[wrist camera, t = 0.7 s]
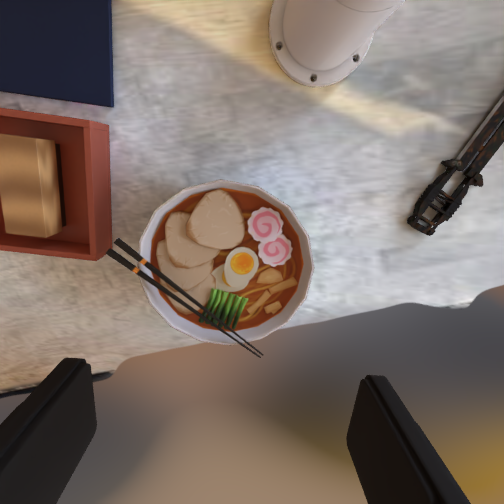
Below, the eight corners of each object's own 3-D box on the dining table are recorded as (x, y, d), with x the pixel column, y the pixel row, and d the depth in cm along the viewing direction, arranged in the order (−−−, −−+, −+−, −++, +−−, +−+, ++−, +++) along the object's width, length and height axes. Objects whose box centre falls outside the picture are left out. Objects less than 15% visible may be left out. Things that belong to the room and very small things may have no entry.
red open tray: (-22, 106, 36) (-61, 99, 31) (109, 125, 37) (89, 120, 32) (-2, 237, 41) (-32, 246, 37) (112, 250, 42) (96, 261, 38)
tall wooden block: (23, 135, 37) (-10, 132, 32) (62, 141, 37) (35, 138, 32) (34, 224, 40) (5, 233, 36) (69, 228, 41) (46, 237, 36)
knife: (534, 51, 35) (545, 47, 34) (565, 84, 36) (577, 81, 35) (396, 215, 41) (401, 217, 40) (426, 238, 43) (432, 241, 41)
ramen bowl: (338, 254, 43) (358, 274, 35) (238, 345, 48) (237, 380, 40) (217, 133, 37) (209, 127, 30) (118, 251, 42) (89, 271, 35)
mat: (-67, -129, 29) (-76, -137, 28) (109, -97, 30) (105, -103, 29) (-31, 86, 35) (-37, 85, 34) (114, 107, 36) (111, 106, 36)
